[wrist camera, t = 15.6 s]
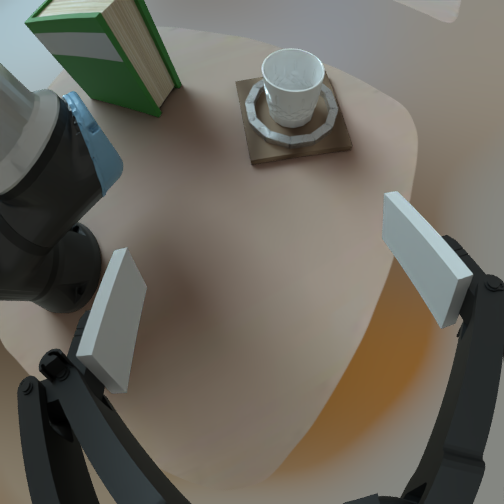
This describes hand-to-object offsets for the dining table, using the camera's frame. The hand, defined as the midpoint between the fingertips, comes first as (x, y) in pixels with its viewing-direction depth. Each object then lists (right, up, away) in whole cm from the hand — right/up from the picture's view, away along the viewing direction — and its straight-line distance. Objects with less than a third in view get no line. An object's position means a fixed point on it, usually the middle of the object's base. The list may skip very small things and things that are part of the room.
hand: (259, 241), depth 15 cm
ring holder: (+6, +21, +30) cm, 37 cm away
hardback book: (-22, +29, +34) cm, 49 cm away
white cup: (+6, +21, +29) cm, 36 cm away
